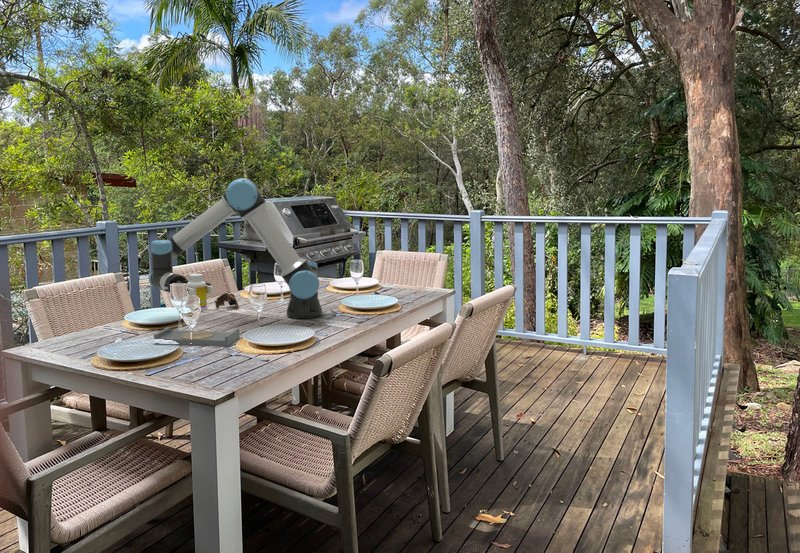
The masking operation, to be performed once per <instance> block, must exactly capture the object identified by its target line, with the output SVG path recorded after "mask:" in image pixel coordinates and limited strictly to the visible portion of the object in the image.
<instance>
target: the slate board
mask: <svg viewBox="0 0 800 553" xmlns="http://www.w3.org/2000/svg"><path fill="white" fill-rule="evenodd" d="M172 329H173V327H172V326H167V327H165V328H163V329H162V330H160V331H158V332H156V333H154V334H153V340H154V339H164V340H173V341H176V342H177V343H179V344H180V345H179V346H201V347H202V346H203V347H204V346H205V347H208V346H209V347H230V346H231V345H232V344H234V343H235V342H236V341H237V340H239V339H240V336H241V335H240V328H235V329H233V330H232V331H229V332H226V331H206V330H196V331H193V330H192V340H191V338H190V330H189V331H187V330H172ZM190 343H192V345H190Z"/></svg>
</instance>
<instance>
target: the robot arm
mask: <svg viewBox="0 0 800 553" xmlns="http://www.w3.org/2000/svg"><path fill="white" fill-rule="evenodd" d="M232 215H238V216H239V218H241V219H242V220H246V221H247V222H248V223H249V225H250V226H251V228H252V229H253V231H254V232H255V233H256V235H257V236H258V238H259V239H260V240H261V242H262V244H263V245H264V246H265V248H266V249H267V251H268V252H269V253H270V255H271V256H272V258H273V259H274V261H275V262H276V264H277V265H278V267H279V268H280V269H281V277H282V279H283V280H284V281H285V283H286V284H287V286H288V288H289V291H290V292H289V295H290V296H289V297H290V298H289V301H288V305H287V308H286V317H287V316H288V318H289V317H293V318H292V319H294V318H311V319H314V318H313V317H317V318H319V317H318V316H320V317H322V316H323V309H322V306H321V302H320V300H319V295H318V294H319V287H320V279H319V277H318V276H319V275H318V273H319V272H318V271H319V270H318V269H319V267H318V264H317V262H314V261H312V262H310V261H307V260H306V259H305V258H301V257H300V256H299V255H298V253H297V252H296V250H295V248H294V247H293V246H292V244H291V243H290V241H289V240H288V239H287V237H286V236H285V234H284V233H283V232H282V230H281V228H280V227H279V225H278V224H277V223H276V221H275V220H274V218H273V216H272V215H271V214H270V212H269V211H268V209H267V201H266V199H265V198H264V196H263V195H262V193H260V190H259V188H258V185H257V184H256V183H255V182H254V181H252V180H251V179H248V178H236V179H235V180H232V181H231V182H230V183H229V184H228V186H227V188H226V192H224V193H223V194H222V195H221V199H220V200H218V201H216V203H214V204H213V205H212V206H210V207H208V209H206V210H205V211H204V212H202V213H201V214H200V215H199V216H197V217H196V218H195V219H193V220H191V222H189V223H188V224H187V225H185V226H184V227H183V228H181V229H180V230H179V231H177V232H176V233H175V234H174V235H172V236H171V237H170V238H168V239H156V240H152V241H151V244H150V245H151V246H150V247H151V248H150V251H151V253H150V254H151V265H152V266H151V267H152V269H151V272H150V274H149V275H148V282H149V285H150V286H151V287H152V288H155V289H156V290H158V291H164V292H167V293H170V284H172V283H186V284H187V283H188V282H189V281H190V280H187V278H186V277H185V276H184V275H181V274H177V273H174V267H173V260H175V259H176V258H177V257H179V256H180V255H181V254H182V253H184V252H185V251H186V250H188V249H189V248H190V247H191V246H193V245H194V244H195V243H197V242H198V241H199V240H201V239H202V238H203V237H204V236H206V235H208V234H209V233H210V232H211V231H212V230H214V229H215V228H216V227H218V226H220V224H223V222H224V221H226V220H227V219H228V218H230V217H231V216H232ZM205 283H206V294H209V295H214V294H215V287H214V286H212V284H211V283H209V282H205ZM187 291H188V294H189V295H195V290H194V289H192V288H188V287H187ZM321 315H322V316H321Z"/></svg>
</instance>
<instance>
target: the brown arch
mask: <svg viewBox="0 0 800 553" xmlns="http://www.w3.org/2000/svg"><path fill="white" fill-rule="evenodd" d="M225 302H227V303H228V305H229V306H234V307H235V310H239V308H240V307H239V303H238V300H237V299H236V296H235V295H234V293H229V292H226V293H225V292H224V293H223V294H221V295H220V296H218V297H217V298H216V299H214V303H215V308H216V309H220V307H221V306H225Z"/></svg>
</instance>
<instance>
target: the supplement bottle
mask: <svg viewBox="0 0 800 553" xmlns="http://www.w3.org/2000/svg"><path fill="white" fill-rule="evenodd" d="M188 278H189V280H188V281H189V282H188V283H187V287H188V288H192V289H194V290H195V295H197V296H198V297H199V298H200V306H201V311H206V310H207V308H208V304H207V293H206V282H205V281H204V280H203V278H204V275H203V274H202V273H190V274H188ZM201 311H200V312H201Z"/></svg>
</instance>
